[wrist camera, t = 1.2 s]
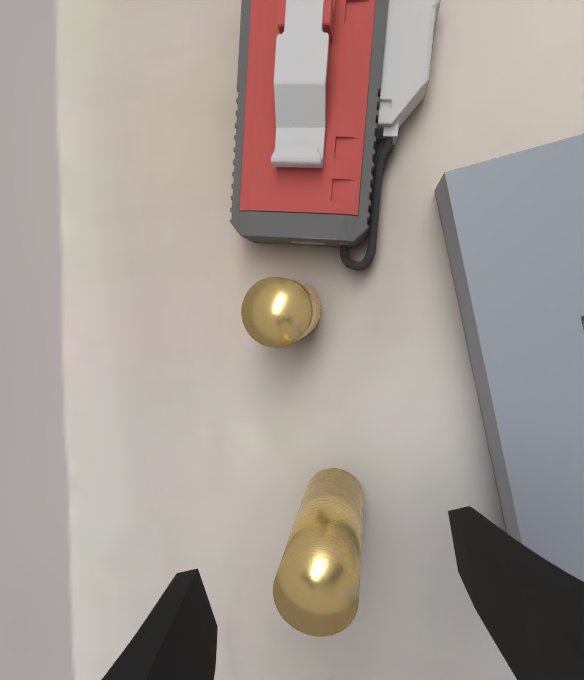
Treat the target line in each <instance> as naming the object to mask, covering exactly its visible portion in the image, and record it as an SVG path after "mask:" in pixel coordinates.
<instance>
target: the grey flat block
mask: <svg viewBox="0 0 584 680" xmlns="http://www.w3.org/2000/svg"><path fill="white" fill-rule="evenodd" d="M435 194H436V199H437V204H438V209H439V213H440V218H441V223H442V228H443V232H444V237H445V242H446V247H447V251H448V256H449V261H450V266H451V270H452V275H453V280H454V285H455V289H456V294H457V299H458V304H459V308H460V313H461V318H462V323H463V328H464V332H465V337H466V342H467V347H468V351H469V356H470V361H471V366H472V370H473V375H474V380H475V385H476V389H477V394H478V399H479V404H480V408H481V413H482V418H483V423H484V427H485V432H486V437H487V442H488V446H489V451H490V456H491V461H492V465H493V470H494V475H495V480H496V484H497V489H498V494H499V499H500V503H501V508H502V513H503V518H504V523H505V527H506V532H507V534H509V535H510V536H511V537H513V538H514V539H516V540H517V541H519V542H520V543H522V544H523V545H525V546H526V547H528V548H529V549H531V550H532V551H534V552H535V553H537V554H538V555H540V556H541V557H543V558H544V559H546V560H547V561H549V562H551V563H552V564H554V565H556V566H557V567H559V568H560V569H562V570H564V571H565V572H567V573H569V574H571V575H572V576H574V577H576V578H578V579H579V580H581V581H583V582H584V330H583V325H582V320H581V316H584V134H582V135H578V136H575V137H571V138H567V139H564V140H560V141H557V142H553V143H549V144H546V145H542V146H539V147H535V148H531V149H528V150H524V151H520V152H517V153H513V154H510V155H506V156H502V157H499V158H495V159H492V160H488V161H484V162H481V163H477V164H474V165H470V166H466V167H463V168H459V169H456V170H452V171H448V172H445V173H444V174H443V176H442V178H441V180H440V182H439V183H438V185H437V187H436V189H435Z"/></svg>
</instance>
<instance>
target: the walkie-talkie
mask: <svg viewBox="0 0 584 680" xmlns="http://www.w3.org/2000/svg"><path fill="white" fill-rule="evenodd" d="M439 6H440V0H242V5H241V23H240V42H239V60H238V79H237V91H238V92H239V93H238V98H237V99H236V102H237V104H238V110H237V111H236V116H237V123H235V128H236V129H237V130H236V135H235V136H234V139H235V141H236V147H235V148H234V152H235V159H234V160H233V164H234V165H235V166H234V172H232V176H233V177H234V183H233V184H232V188H233V196H231V200H232V201H233V202H232V208H230V212H232V219H231V220H230V222H231V224H232V225H233V226H234V228H235V229H236V230H237V232H238V233H239V234H240V236H242V237H244V238H246V239H248V240H250V241H252V242H254V243H273V244H292V245H312V246H332V247H340V256H341V259H342V262H343V263H344V264H345V266H346V267H348V268H351V269H354V270H357V271H358V270H363V269H365V268H366V267H368V266H369V264H370V263H371V262H372V259H373V257H374V254H375V249H376V238H377V226H378V215H379V203H380V191H381V182H382V174H383V166H384V163H385V161H386V159H387V157H388V156H389V154H390V152H391V149H392V145H393V144H396V143H397V137H398V129H399V127H400V126H401V125H402V124H403V123H404V121H405V120H406V119H407V118H408V117H409V115H410V114H411V113H412V112H413V110H414V109H415V108H416V107H417V106H418V104H419V103H420V102H421V101H422V100H423V98H424V97H425V93H426V89H427V85H428V81H429V74H430V64H431V54H432V44H433V34H434V26H435V24H436V19H437V15H438V11H439ZM377 138H378V139H383V144H384V146H383V148H382V150H381V151H380V153H379V155H378V156H377V160H376V165H375V157H376V145H377ZM369 225H370V226H369ZM368 235H369V238H368V248H367V253H366V255H365V257H364V259H363V260H362V261H360V262H356V261H352V260H351V259H350V258H349V254H348V247H352V248H355V247H356V246H357V245H358V244H360V243H361V242H362V241H363V240H364V239H365V238H366V237H367V236H368Z"/></svg>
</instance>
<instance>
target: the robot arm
mask: <svg viewBox="0 0 584 680" xmlns="http://www.w3.org/2000/svg"><path fill="white" fill-rule="evenodd" d="M448 514H449V520H450V526H451V531H452V537H453V543H454V549H455V555H456V561H457V567H458V572H459V574H460V576H461V579H462V581H463V583H464V585H465V588H466V590H467V592H468V594H469V596H470V598H471V601H472V603H473V605H474V607H475V609H476V611H477V613H478V614H479V616H480V618H481V619H482V621H483V623H484V625H485V626H486V628H487V630H488V631H489V633H490V635H491V636H492V638H493V640H494V641H495V643H496V645H497V647H498V648H499V650H500V652H501V653H502V655H503V657H504V658H505V660H506V662H507V663H508V665H509V667H510V668H511V670H512V672H513V673H514V675H515V677H516V679H517V680H584V582H583V581H581V580H579V579H578V578H576V577H574V576H572V575H571V574H569V573H567V572H565V571H564V570H562V569H560V568H559V567H557V566H556V565H554V564H552V563H551V562H549V561H547V560H546V559H544V558H543V557H541V556H540V555H538V554H537V553H535V552H534V551H532V550H531V549H529V548H528V547H526V546H525V545H523V544H522V543H520V542H519V541H517V540H516V539H514V538H513V537H511V536H510V535H509V534H507V533H506V532H504V531H503V530H502V529H500V528H499V527H497V526H496V525H495V524H493V523H492V522H491V521H489V520H488V519H487V518H485V517H484V516H483V515H481V514H480V513H479V512H477V511H476V510H474V509H473V508H471V507H470V506H468V507H464V508H460V509H455V510H451V511H448ZM216 650H217V624H216V621H215V618H214V615H213V612H212V609H211V606H210V603H209V600H208V597H207V594H206V591H205V588H204V585H203V582H202V580H201V577H200V574H199V571H198V569H194V570H189V571H185V572H181V573H177V574H176V575H175V577H174V578H173V580H172V581H171V583H170V584H169V586H168V587H167V589H166V590H165V592H164V593H163V595H162V596H161V598H160V599H159V601H158V602H157V604H156V605H155V607H154V608H153V610H152V611H151V613H150V614H149V616H148V617H147V619H146V620H145V621H144V623H143V624H142V626H141V627H140V629H139V630H138V632H137V633H136V634H135V636H134V637H133V639H132V640H131V642H130V643H129V644H128V646H127V647H126V648H125V650H124V651H123V652H122V654H121V655H120V656H119V658H118V659H117V660H116V662H115V663H114V664H113V666H112V667H111V668H110V670H109V671H108V672H107V674H106V675H105V676H104V677H103V679H102V680H214V674H215V666H216Z"/></svg>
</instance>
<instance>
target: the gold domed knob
mask: <svg viewBox="0 0 584 680" xmlns="http://www.w3.org/2000/svg"><path fill="white" fill-rule="evenodd" d="M241 313H242V321H243V324H244V326H245V329H246V330H247V332H248V333H249V335H250V336H251V337H252V338H253V339H254V340H256V341H257V342H259V343H260V344H262V345H265V346H268V347H284V346H287V345H290V344H292V343H294V342H296V341H297V340H299V339H301V338H303V337H305V336H307V335H308V334H310V333H311V332H312V331H313V330H314V329H315V327H316V326H317V324H318V322H319V320H320V316H321V304H320V301H319V298H318V296H317V294H316V293H315V292H314V290H313V289H312V288H311V287H309V286H308V285H306V284H304V283H302V282H298V281H294V280H290V279H285V278H281V277H270V278H266V279H263V280H261V281H259V282H257V283H256V284H254V285H253V286H252V287H251V288H250V289H249V291H248V292H247V294H246V295H245V297H244V300H243V303H242V310H241Z"/></svg>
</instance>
